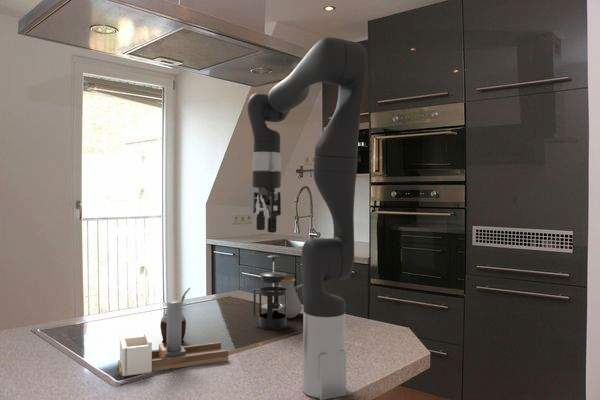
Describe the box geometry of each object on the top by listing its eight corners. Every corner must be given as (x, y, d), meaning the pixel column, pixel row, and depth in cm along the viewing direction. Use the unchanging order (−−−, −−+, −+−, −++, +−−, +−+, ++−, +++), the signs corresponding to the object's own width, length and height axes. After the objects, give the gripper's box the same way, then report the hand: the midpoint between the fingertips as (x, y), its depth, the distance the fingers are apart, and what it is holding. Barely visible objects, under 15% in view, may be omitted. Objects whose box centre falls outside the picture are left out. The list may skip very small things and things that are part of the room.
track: (228, 360, 120) (228, 350, 120) (120, 375, 109) (120, 365, 109) (220, 351, 127) (220, 341, 127) (117, 364, 116) (117, 354, 116)
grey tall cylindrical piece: (186, 359, 116) (186, 303, 116) (162, 362, 114) (162, 305, 114) (181, 352, 122) (182, 299, 121) (158, 355, 119) (159, 301, 119)
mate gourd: (157, 346, 131) (157, 292, 131) (164, 337, 139) (165, 287, 138) (184, 346, 131) (184, 292, 131) (190, 337, 139) (190, 287, 139)
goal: (151, 372, 111) (151, 342, 111) (122, 376, 109) (122, 345, 109) (146, 359, 120) (147, 332, 119) (119, 363, 117) (120, 334, 117)
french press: (291, 322, 156) (292, 254, 156) (285, 330, 147) (286, 257, 147) (257, 320, 158) (258, 253, 158) (249, 328, 149) (250, 256, 149)
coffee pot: (268, 319, 160) (268, 275, 160) (271, 311, 172) (271, 270, 172) (330, 320, 160) (331, 276, 160) (329, 312, 171) (329, 271, 171)
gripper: (244, 170, 128) (244, 229, 129) (262, 168, 116) (262, 233, 116) (270, 171, 132) (269, 229, 132) (290, 169, 119) (289, 232, 119)
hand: (266, 231), depth 124 cm, fingers open, 8 cm apart
